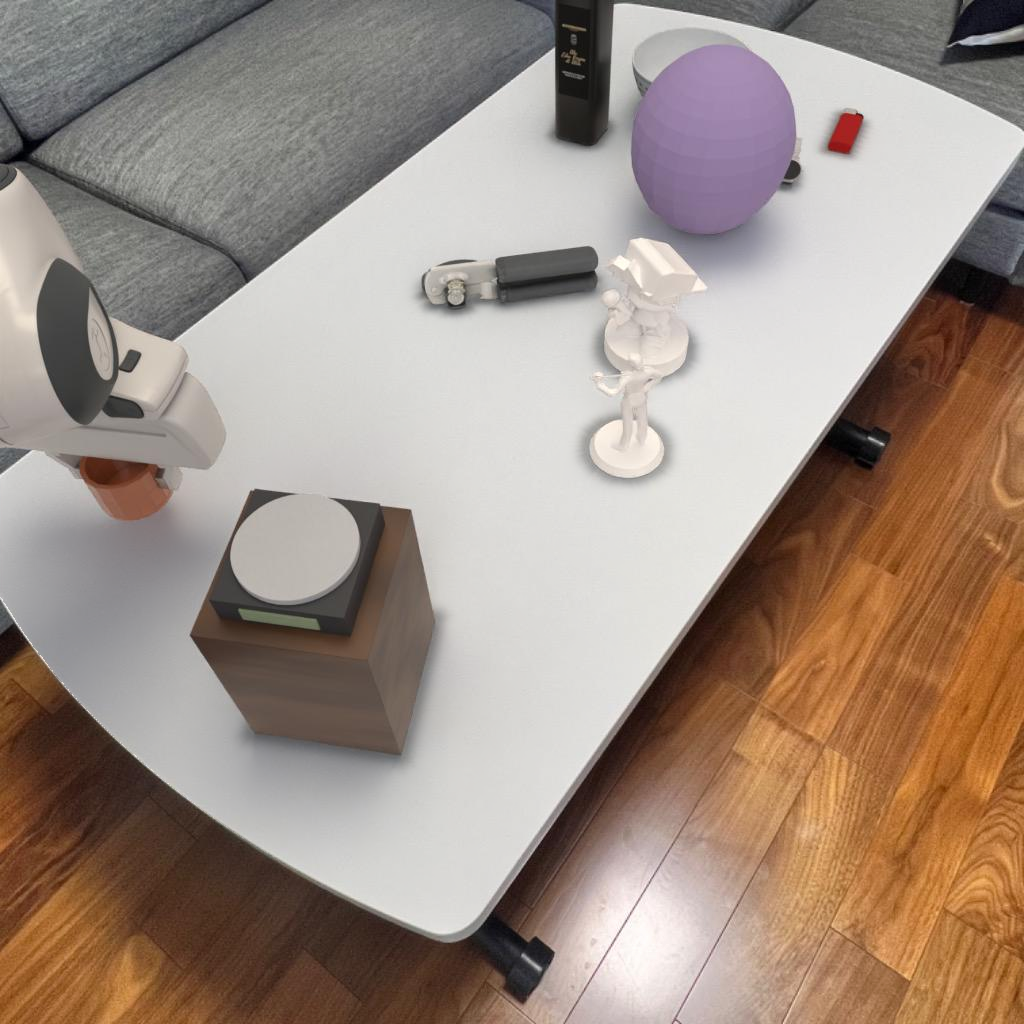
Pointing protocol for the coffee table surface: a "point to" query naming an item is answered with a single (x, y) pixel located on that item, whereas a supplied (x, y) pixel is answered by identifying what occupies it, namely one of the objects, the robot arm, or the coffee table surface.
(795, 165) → the wristwatch
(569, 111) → the black tall square bottle
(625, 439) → the figurine
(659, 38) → the chinaware
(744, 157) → the purple ovoid
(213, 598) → the scale
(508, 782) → the coffee table surface
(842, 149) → the lighter
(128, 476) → the bowl
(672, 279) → the character figurine
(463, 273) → the can opener
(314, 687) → the wooden block
